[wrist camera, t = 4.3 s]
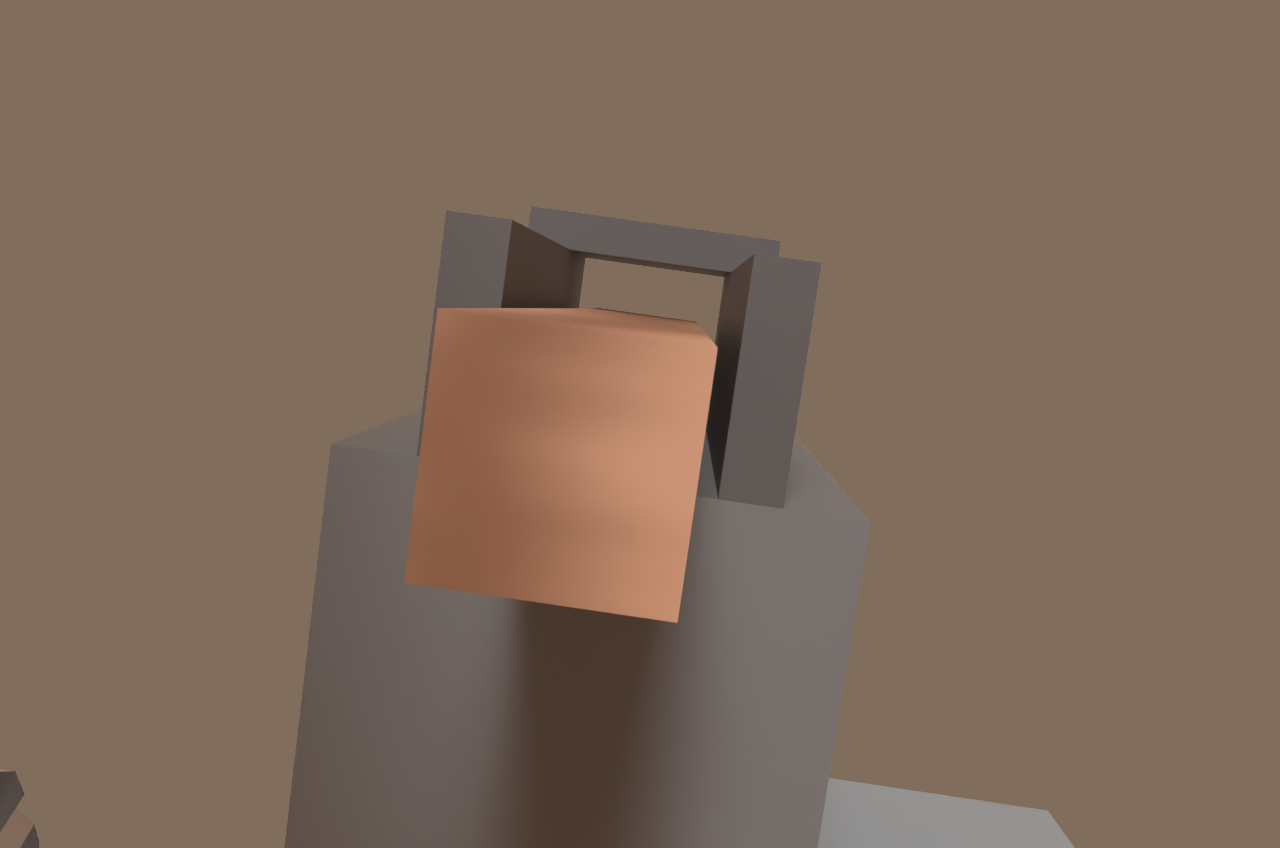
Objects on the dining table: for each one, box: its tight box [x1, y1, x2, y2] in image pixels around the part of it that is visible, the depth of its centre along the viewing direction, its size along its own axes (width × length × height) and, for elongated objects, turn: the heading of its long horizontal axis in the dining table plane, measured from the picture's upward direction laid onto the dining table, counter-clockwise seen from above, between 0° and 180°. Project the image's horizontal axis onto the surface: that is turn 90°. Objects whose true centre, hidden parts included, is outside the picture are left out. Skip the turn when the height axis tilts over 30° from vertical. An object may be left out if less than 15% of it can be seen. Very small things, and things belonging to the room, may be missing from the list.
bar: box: [404, 308, 718, 623], centre depth 25 cm, size 3×24×3 cm, turn 178°
